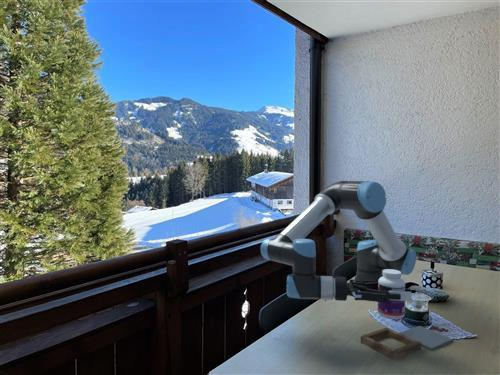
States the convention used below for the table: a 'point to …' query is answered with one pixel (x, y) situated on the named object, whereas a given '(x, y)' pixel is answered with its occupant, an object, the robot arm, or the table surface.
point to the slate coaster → (427, 337)
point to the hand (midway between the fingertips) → (407, 291)
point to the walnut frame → (394, 354)
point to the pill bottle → (391, 283)
